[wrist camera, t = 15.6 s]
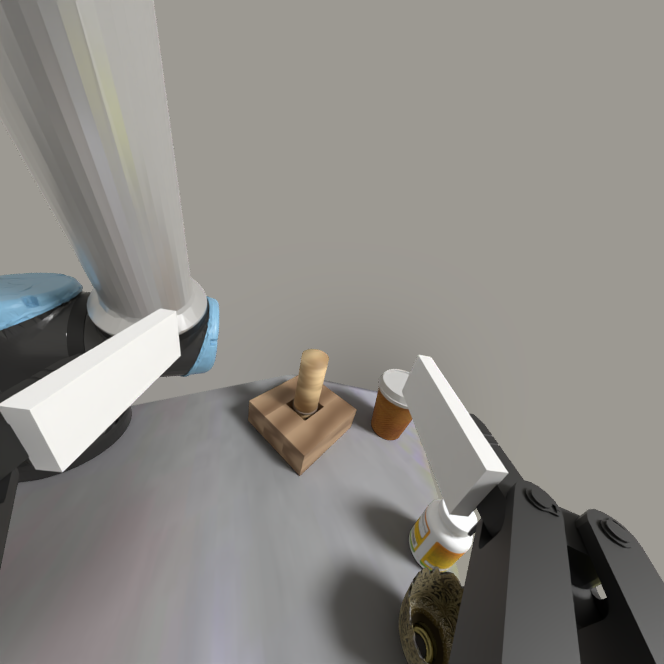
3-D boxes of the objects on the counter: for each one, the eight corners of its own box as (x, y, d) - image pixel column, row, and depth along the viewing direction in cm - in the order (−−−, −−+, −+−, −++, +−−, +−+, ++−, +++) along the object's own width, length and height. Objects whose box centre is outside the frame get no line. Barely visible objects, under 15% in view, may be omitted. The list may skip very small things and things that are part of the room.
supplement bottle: (456, 561, 31) (494, 525, 27) (429, 585, 29) (467, 550, 24) (425, 518, 35) (454, 480, 31) (399, 535, 33) (427, 497, 28)
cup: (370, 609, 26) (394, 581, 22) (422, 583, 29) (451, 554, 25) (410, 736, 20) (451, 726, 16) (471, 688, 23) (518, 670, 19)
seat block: (248, 420, 44) (249, 400, 42) (302, 388, 54) (305, 371, 52) (299, 476, 37) (304, 456, 35) (350, 427, 47) (356, 409, 45)
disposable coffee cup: (394, 457, 43) (419, 411, 38) (354, 423, 48) (370, 378, 43) (415, 430, 50) (438, 387, 45) (378, 403, 55) (395, 361, 50)
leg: (284, 423, 45) (295, 354, 38) (301, 411, 48) (315, 345, 41) (300, 439, 43) (316, 368, 35) (318, 425, 46) (335, 358, 39)
